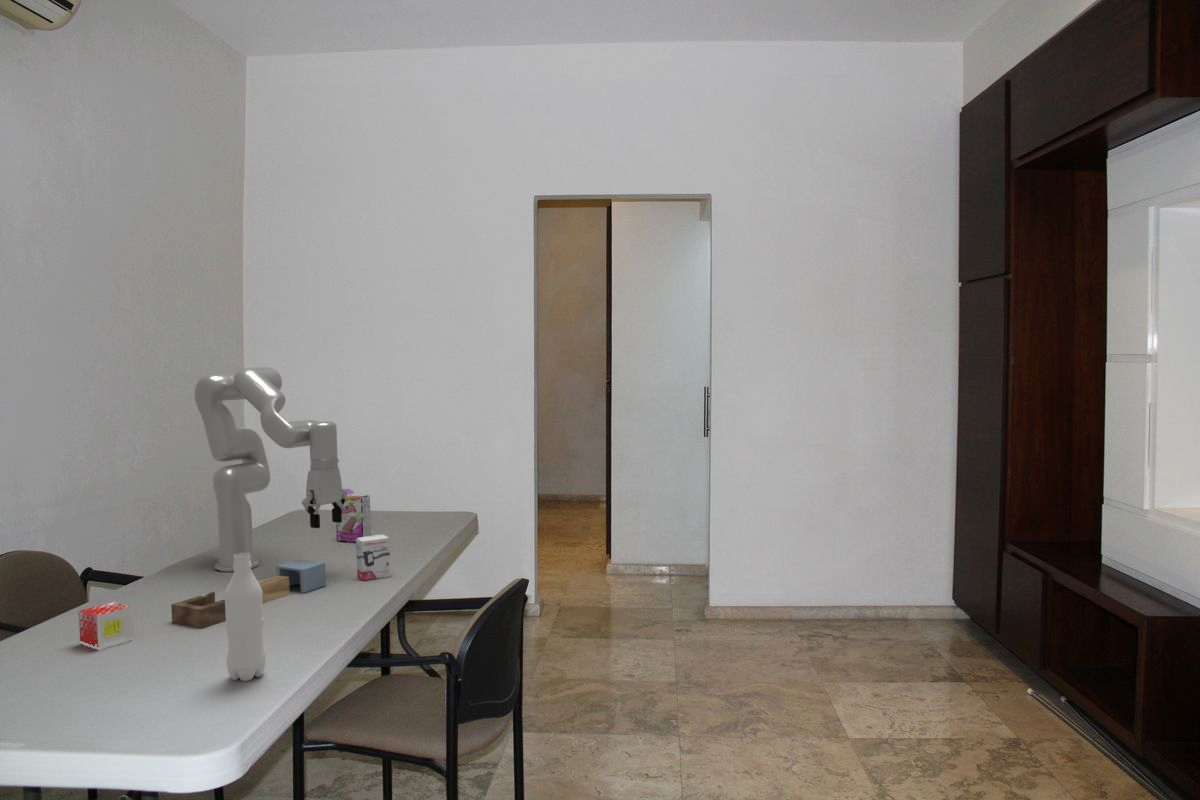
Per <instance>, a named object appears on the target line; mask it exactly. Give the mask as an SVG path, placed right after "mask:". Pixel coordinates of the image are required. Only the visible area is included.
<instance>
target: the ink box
mask: <svg viewBox="0 0 1200 800" xmlns="http://www.w3.org/2000/svg"><path fill="white" fill-rule="evenodd" d="M355 544H356V546H355V548H356V549H355V550H356V551H355V552H356V570H357V571H356V574H357V579H359V580H360V581H362V582H365V581H364V580H366V581H370V579H372V580H377V578H378V579H383V577H384V578H389V577H391V558H390V557H391V553H390V551H391V550H390V547H391V546H390V537H388V536H387V535H386V534H375V535H371V536H367V537H360V538H357V539H356V543H355Z"/></svg>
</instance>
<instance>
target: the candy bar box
mask: <svg viewBox="0 0 1200 800" xmlns="http://www.w3.org/2000/svg"><path fill="white" fill-rule="evenodd" d="M370 497H371V496H370V494H359V493H354V494H348V495H347V497H346V499H345V503H344V504H343V508H342V509H341V511H342V522H341V523H337V522H335V525H336V527H335V528H336V542H339V541H347V542H346V543H352V542H356V539H357V538H360V537H367V536H372V531H371V529H372V528H371V527H372V526H371V498H370Z"/></svg>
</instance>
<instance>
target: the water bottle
mask: <svg viewBox="0 0 1200 800" xmlns="http://www.w3.org/2000/svg"><path fill="white" fill-rule="evenodd" d="M233 564H234V565H233V568H234V571H233V572H232V573H233V574H232V577H231V578H230V580H229V582H228V583H227V587H226V588H225V591H224V595H223V596H224V598H223V600H225V612H226V620H225V621H224V624H225V626H224V627H225V630H226V634H227V639H228V640H227V642H228V652H227V657H226V668H227V673H228V675H229V677H230V678H231V680H233V681H238V680H239V679H240V680H241V681H242V682H249V681H251V680H253V678H254V676H255V677H256V678H259V677H261V676H262V674H263V673H264V671H265V667H266V653H265V648H264V644H263V628H264V622H265V618H264V611H263V609H264V608H263V606H264V605H263V604H264V603H262V595H263V592H262V588H261V586H260V584H259V583H258V582H259V581H258V580H257V578H256V576H255V575H254V573H253V571H252V568H251V566H252V564H251V561H250V554H249V553H239V554H235V555H234V563H233Z"/></svg>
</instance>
